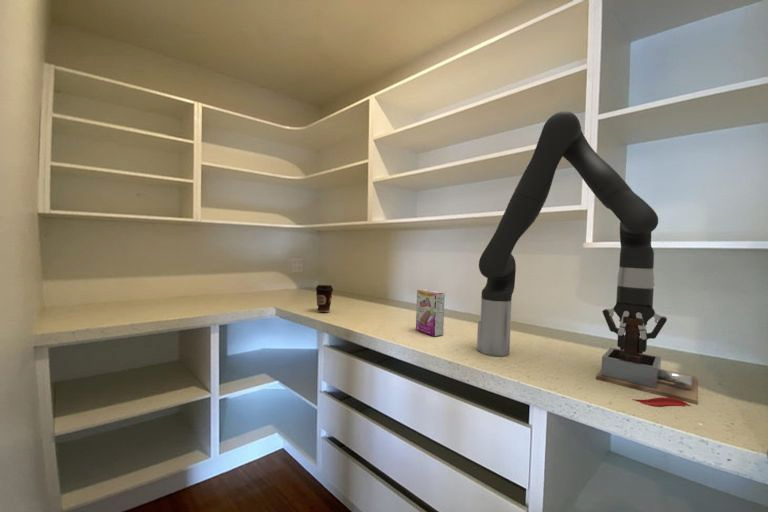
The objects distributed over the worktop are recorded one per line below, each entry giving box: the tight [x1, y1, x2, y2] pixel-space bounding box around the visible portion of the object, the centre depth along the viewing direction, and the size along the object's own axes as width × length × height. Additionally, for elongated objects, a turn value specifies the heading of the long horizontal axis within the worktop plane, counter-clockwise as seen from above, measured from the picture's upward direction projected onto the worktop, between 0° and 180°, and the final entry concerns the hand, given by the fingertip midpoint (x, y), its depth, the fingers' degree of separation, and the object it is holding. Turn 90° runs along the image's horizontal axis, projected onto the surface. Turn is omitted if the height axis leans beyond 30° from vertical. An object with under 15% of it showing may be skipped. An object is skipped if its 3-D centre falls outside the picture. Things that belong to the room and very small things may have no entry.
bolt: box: [619, 317, 648, 363], centre depth 85 cm, size 6×5×15 cm
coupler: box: [601, 347, 693, 391], centre depth 85 cm, size 17×18×5 cm
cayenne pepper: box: [632, 396, 693, 408], centre depth 71 cm, size 12×5×2 cm, turn 67°
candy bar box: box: [415, 288, 446, 337], centre depth 127 cm, size 11×5×16 cm, turn 34°
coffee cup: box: [315, 284, 334, 313], centre depth 164 cm, size 9×8×13 cm
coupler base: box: [595, 368, 698, 406], centre depth 85 cm, size 19×20×1 cm
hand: (631, 350), depth 85 cm, fingers closed on bolt, 3 cm apart
